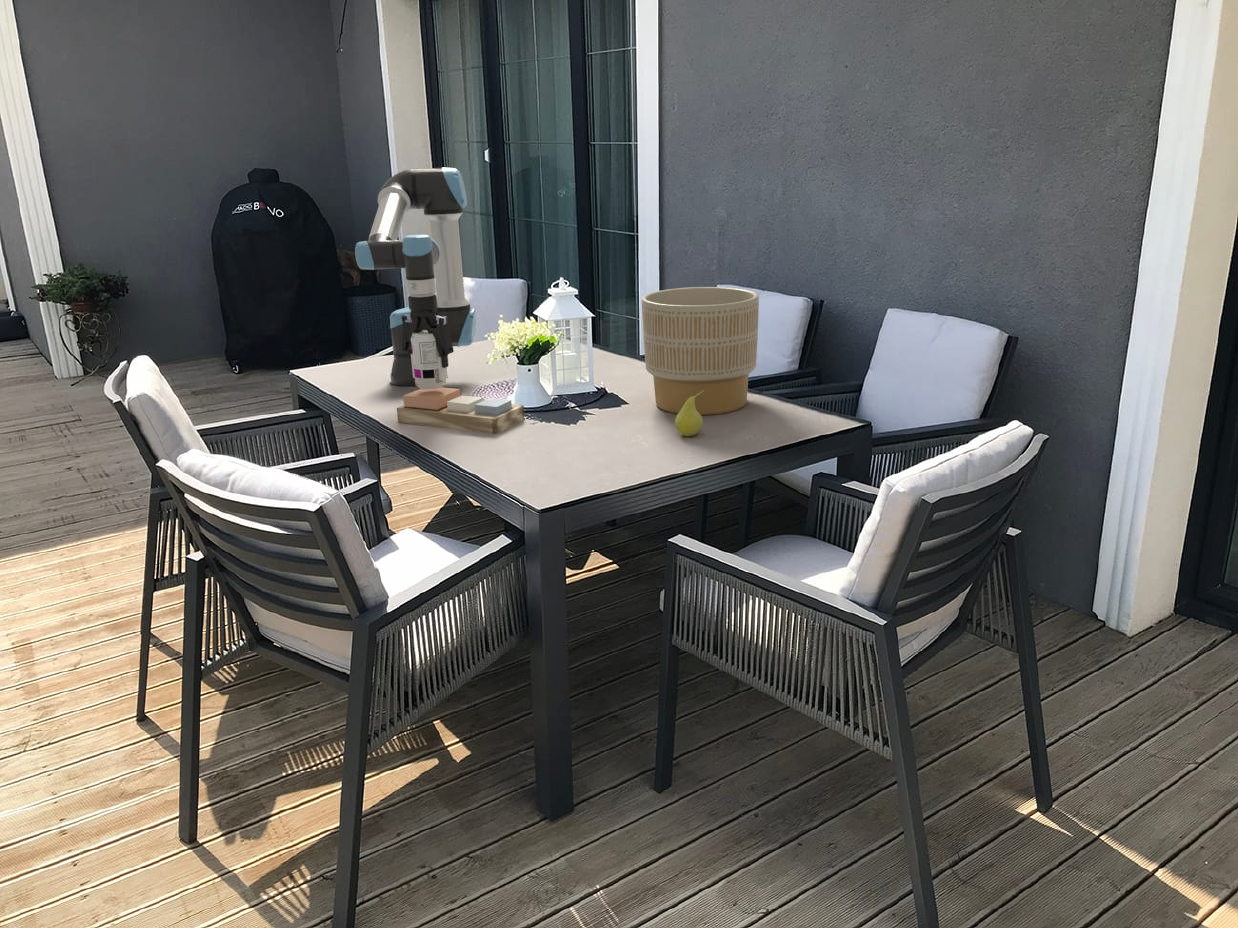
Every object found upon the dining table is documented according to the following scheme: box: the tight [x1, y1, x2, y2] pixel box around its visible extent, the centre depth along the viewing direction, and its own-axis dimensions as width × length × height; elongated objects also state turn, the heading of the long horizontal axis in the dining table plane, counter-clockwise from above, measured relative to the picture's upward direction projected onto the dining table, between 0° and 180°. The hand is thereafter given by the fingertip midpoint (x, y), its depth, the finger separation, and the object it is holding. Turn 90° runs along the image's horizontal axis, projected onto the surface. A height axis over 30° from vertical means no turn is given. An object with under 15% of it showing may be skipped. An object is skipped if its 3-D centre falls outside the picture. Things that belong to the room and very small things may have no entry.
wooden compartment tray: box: [396, 403, 525, 435], centre depth 271 cm, size 14×32×4 cm, turn 63°
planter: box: [641, 286, 760, 416], centre depth 275 cm, size 32×32×30 cm
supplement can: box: [411, 330, 447, 389], centre depth 270 cm, size 8×8×15 cm
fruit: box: [674, 389, 705, 437], centre depth 249 cm, size 7×8×12 cm
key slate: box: [475, 397, 513, 416], centre depth 266 cm, size 7×7×4 cm
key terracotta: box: [402, 386, 462, 412], centre depth 274 cm, size 11×11×4 cm
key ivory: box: [447, 394, 484, 413], centre depth 270 cm, size 7×7×4 cm
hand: (430, 377), depth 272 cm, fingers closed on supplement can, 8 cm apart
